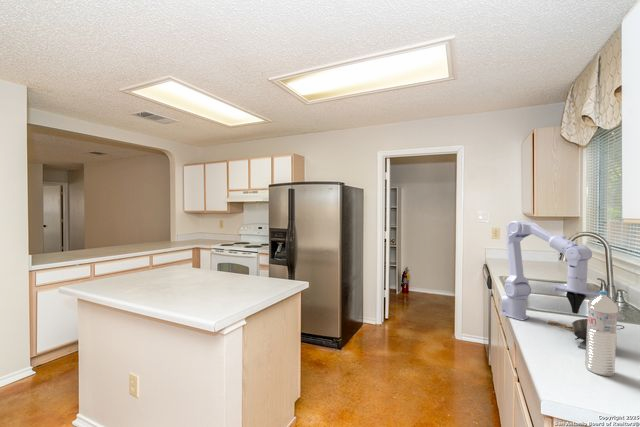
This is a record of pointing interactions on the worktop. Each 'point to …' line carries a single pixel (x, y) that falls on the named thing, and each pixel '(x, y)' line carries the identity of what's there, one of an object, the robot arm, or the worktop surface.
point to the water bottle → (601, 335)
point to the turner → (560, 325)
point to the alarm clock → (581, 328)
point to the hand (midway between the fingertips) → (575, 312)
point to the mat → (582, 345)
